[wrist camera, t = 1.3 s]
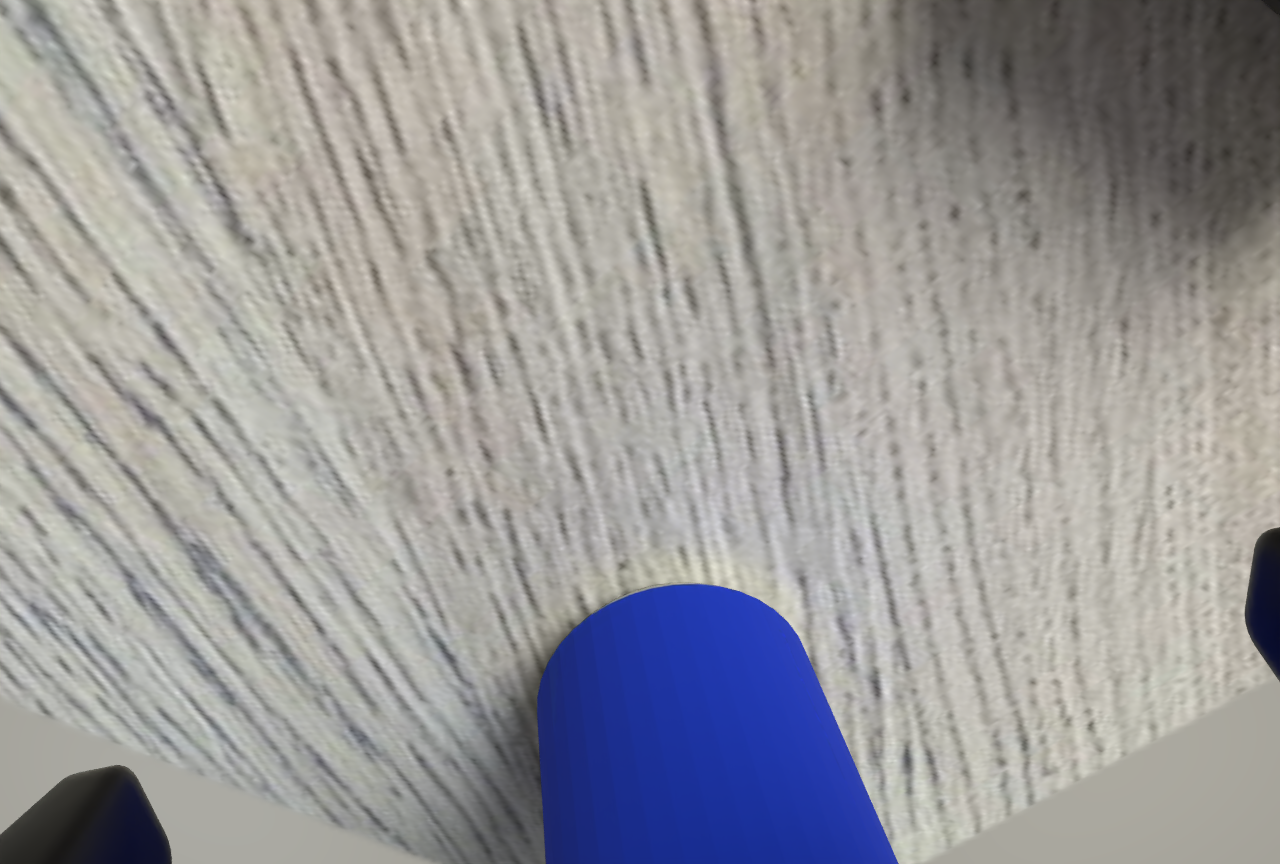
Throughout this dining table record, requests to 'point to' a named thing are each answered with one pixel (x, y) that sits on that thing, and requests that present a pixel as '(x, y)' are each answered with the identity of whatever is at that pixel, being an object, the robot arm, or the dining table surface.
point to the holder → (1273, 5)
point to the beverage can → (695, 740)
